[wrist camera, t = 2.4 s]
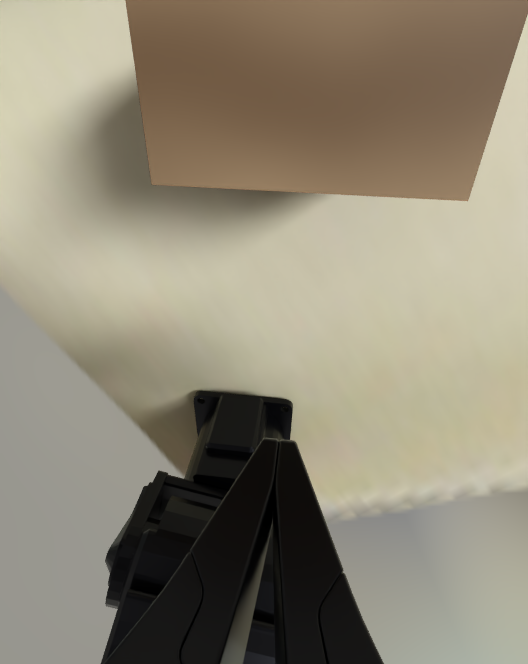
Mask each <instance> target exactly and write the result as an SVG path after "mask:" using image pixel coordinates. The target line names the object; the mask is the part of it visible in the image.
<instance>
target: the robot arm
mask: <svg viewBox="0 0 528 664" xmlns="http://www.w3.org/2000/svg"><path fill="white" fill-rule="evenodd" d="M200 398H202V399H200ZM194 407H195V416H196V424H197V433H198V440H197V443H196V446H195V449H194V452H193V455H192V457H191V460H190V463H189V466H188V469H187V472H186V475H185V478H184V479H182V478H178V477H175V476H171V475H168V473H166V472H162V471H158V473H157V475H156V477H155V479H154V481H153V483H151V482H150V483H149V485H148V486H144V487H143V490H142V492H141V494H140V497H139V499H138V501H137V504H136V506H135V508H134V510H133V513H132V514H131V516H130V518H129V519H128V521H127V522H126V524H125V525H124V527H123V528H122V530H121V532H120V533H119V535H118V536H117V538H116V539H115V541H114V542H113V544H112V545H111V547H110V549H109V551H108V553H107V556H106V560H105V562H106V564H107V567H108V570H109V572H110V577H109V581H108V586H109V588H108V592H107V597H106V603H105V604H106V606H108V607H112V608H116V609H118V610H117V613H116V617H115V620H114V623H113V626H112V629H111V633H110V636H109V639H108V642H107V646H106V649H105V652H104V655H103V659H102V662H101V664H384V663H383V661H382V659H381V657H380V655H379V653H378V651H377V649H376V647H375V644H374V642H373V640H372V638H371V636H370V634H369V631H368V630H367V627H366V625H365V623H364V621H363V619H362V616H361V614H360V611H359V609H358V606H357V604H356V601H355V599H354V596H353V594H352V591H351V588H350V586H349V583H348V580H347V578H346V575H345V574H344V573H343V568H342V565H341V562H340V559H339V557H338V554H337V552H336V549H335V546H334V543H333V541H332V538H331V535H330V532H329V530H328V527H327V524H326V522H325V519H324V516H323V514H322V511H321V508H320V505H319V503H318V500H317V497H316V495H315V492H314V489H313V487H312V484H311V481H310V479H309V476H308V473H307V470H306V468H305V465H304V462H303V460H302V457H301V454H300V452H299V449H298V446H297V444H296V442H295V441H293V440H290V433H291V422H292V411H293V404H292V402H291V401H289V400H286V399H276V398H266V397H256V396H246V395H236V394H226V393H216V392H206V391H199V392H197V393H196V394H195V397H194ZM284 407H287V408H284Z"/></svg>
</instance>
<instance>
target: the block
mask: <svg viewBox="0 0 528 664" xmlns="http://www.w3.org/2000/svg"><path fill="white" fill-rule="evenodd" d="M126 7H127V14H128V21H129V28H130V36H131V43H132V50H133V57H134V64H135V71H136V78H137V85H138V92H139V99H140V106H141V113H142V120H143V128H144V135H145V142H146V149H147V156H148V163H149V170H150V177H151V184H152V185H166V186H186V187H205V188H225V189H244V190H263V191H283V192H302V193H322V194H341V195H361V196H380V197H400V198H419V199H438V200H458V201H468V199H469V196H470V193H471V190H472V187H473V184H474V181H475V177H476V174H477V171H478V168H479V165H480V162H481V159H482V155H483V152H484V149H485V146H486V143H487V140H488V137H489V134H490V130H491V127H492V124H493V121H494V118H495V115H496V112H497V108H498V105H499V102H500V99H501V96H502V93H503V90H504V86H505V83H506V80H507V77H508V74H509V71H510V68H511V64H512V61H513V58H514V55H515V52H516V49H517V46H518V43H519V39H520V36H521V33H522V30H523V27H524V24H525V21H526V17H527V14H528V0H126Z"/></svg>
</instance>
